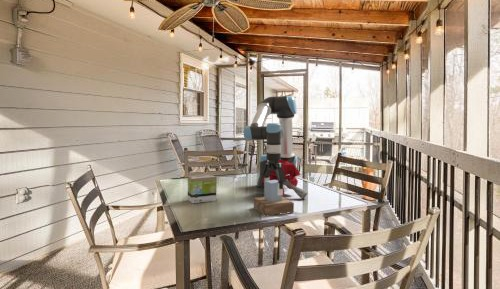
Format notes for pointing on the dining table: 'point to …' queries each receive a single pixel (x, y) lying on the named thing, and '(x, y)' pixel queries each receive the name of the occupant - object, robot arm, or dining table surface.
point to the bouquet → (289, 178)
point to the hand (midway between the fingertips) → (273, 192)
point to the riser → (273, 206)
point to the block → (271, 191)
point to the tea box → (202, 188)
